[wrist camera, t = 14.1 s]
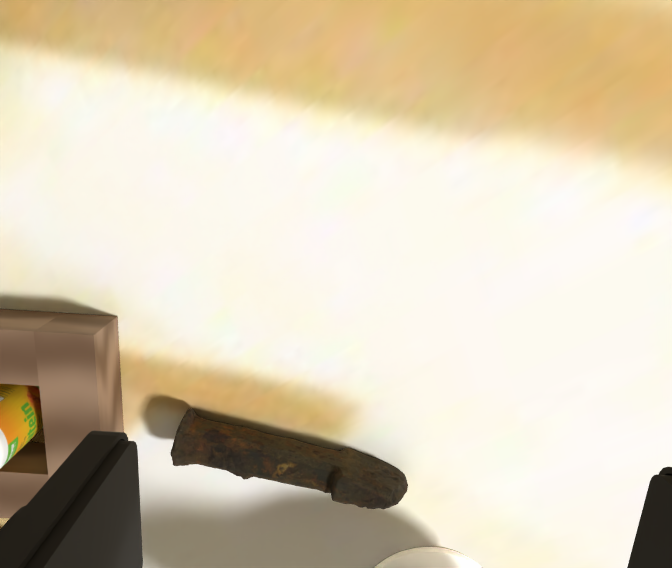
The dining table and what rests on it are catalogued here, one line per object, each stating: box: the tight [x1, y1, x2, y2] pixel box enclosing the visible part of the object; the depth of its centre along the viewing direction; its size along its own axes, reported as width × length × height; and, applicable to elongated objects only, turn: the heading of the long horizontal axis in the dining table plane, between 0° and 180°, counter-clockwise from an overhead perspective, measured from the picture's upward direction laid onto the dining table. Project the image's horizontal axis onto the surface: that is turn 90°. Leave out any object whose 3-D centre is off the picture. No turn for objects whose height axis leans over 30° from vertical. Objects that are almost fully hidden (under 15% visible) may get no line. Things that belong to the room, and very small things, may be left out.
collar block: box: [0, 309, 124, 518], centre depth 41 cm, size 16×16×4 cm
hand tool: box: [171, 408, 408, 509], centre depth 42 cm, size 19×4×5 cm, turn 74°
